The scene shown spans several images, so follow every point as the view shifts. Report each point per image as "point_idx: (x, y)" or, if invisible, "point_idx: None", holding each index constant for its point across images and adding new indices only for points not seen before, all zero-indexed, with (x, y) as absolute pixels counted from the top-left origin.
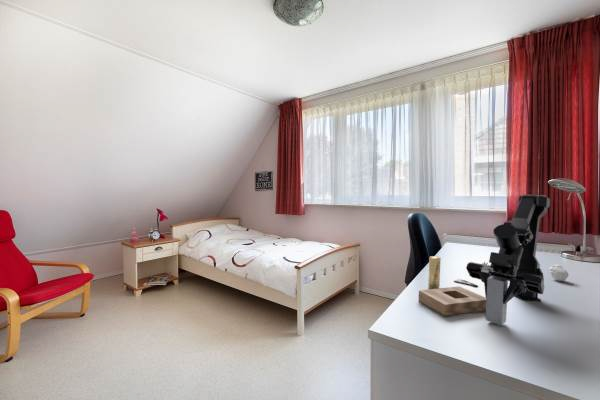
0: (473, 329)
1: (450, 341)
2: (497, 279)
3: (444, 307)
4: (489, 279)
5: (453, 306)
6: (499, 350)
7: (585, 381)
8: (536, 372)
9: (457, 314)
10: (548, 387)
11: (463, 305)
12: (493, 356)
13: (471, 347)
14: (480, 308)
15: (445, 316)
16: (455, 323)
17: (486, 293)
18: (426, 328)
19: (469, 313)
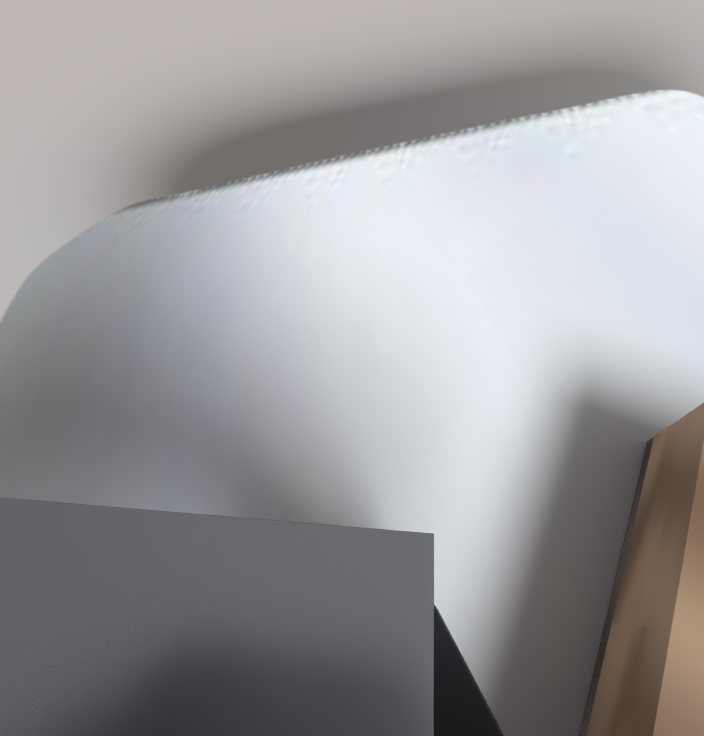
0: (432, 411)
1: (455, 218)
2: (102, 629)
3: (699, 413)
4: (366, 534)
5: (676, 498)
6: (280, 299)
7: (20, 321)
8: (164, 256)
9: (623, 563)
10: (145, 210)
11: (649, 631)
12: (294, 242)
13: (375, 238)
14: None
15: (648, 447)
16: (542, 404)
17: (437, 646)
18: (595, 234)
19: (584, 715)
